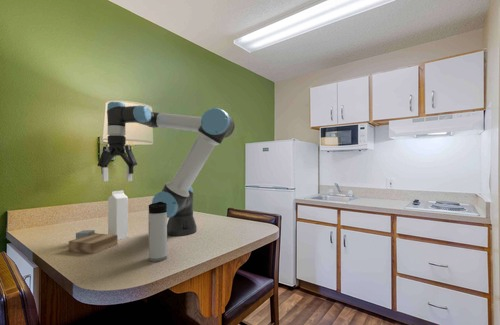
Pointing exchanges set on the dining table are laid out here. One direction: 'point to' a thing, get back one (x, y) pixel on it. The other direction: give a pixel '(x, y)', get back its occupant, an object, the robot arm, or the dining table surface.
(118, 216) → the milk
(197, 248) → the dining table surface
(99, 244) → the stand
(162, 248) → the travel mug
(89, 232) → the grey block
